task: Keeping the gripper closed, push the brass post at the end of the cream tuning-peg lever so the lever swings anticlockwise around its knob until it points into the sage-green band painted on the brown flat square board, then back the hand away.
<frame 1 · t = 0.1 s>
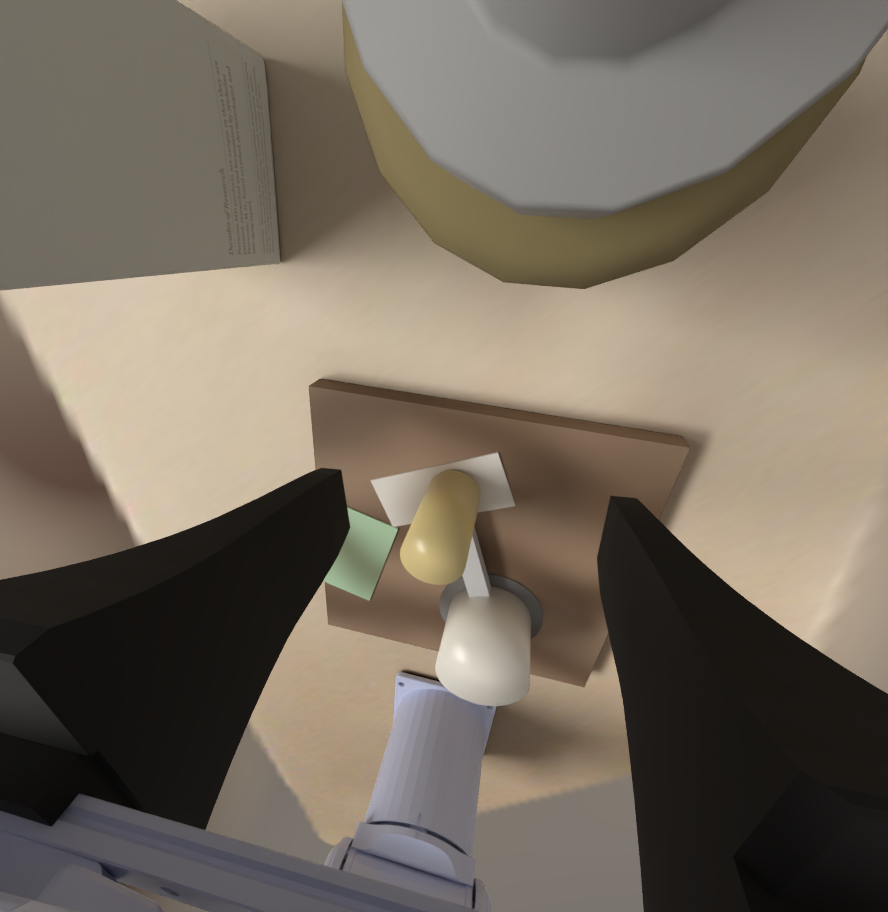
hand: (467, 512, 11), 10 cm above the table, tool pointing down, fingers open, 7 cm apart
peg lever: (468, 601, 21), point 4 cm above the table, hinge at 20.0°
squeeze bottle: (555, 159, 15), on the table
supplement box: (202, 161, 18), on the table
brown flat square board: (468, 543, 24), on the table
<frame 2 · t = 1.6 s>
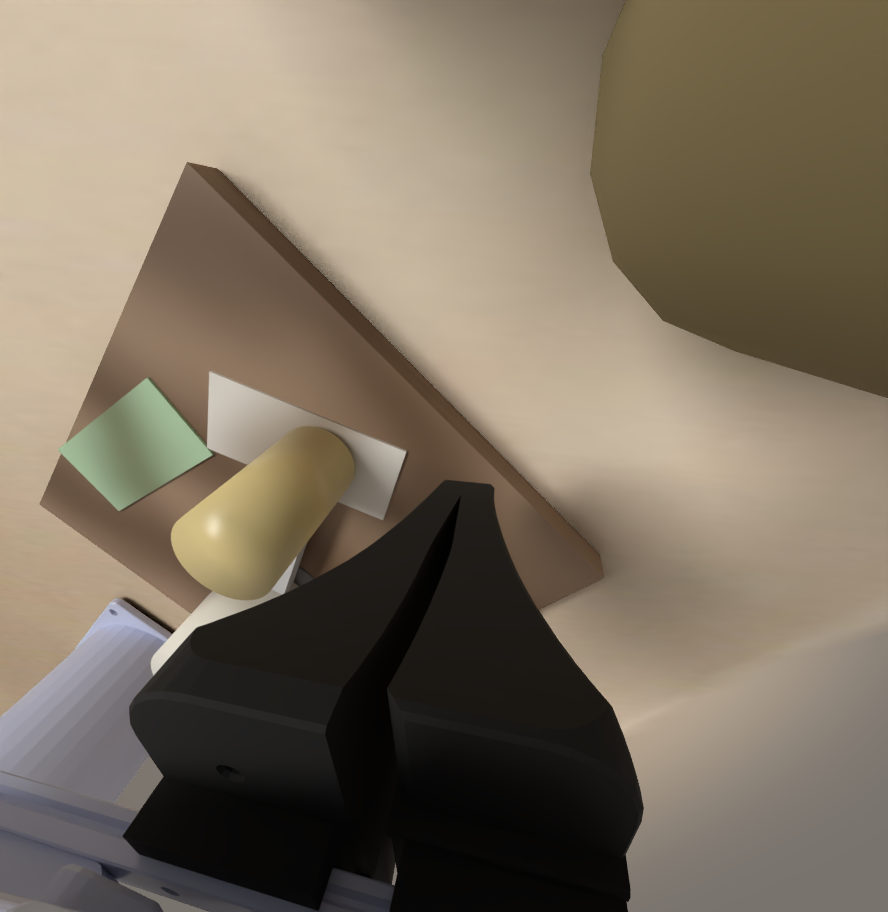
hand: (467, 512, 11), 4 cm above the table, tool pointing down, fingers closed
peg lever: (251, 600, 15), point 4 cm above the table, hinge at 20.0°
squeeze bottle: (753, 141, 9), on the table
brown flat square board: (297, 518, 18), on the table
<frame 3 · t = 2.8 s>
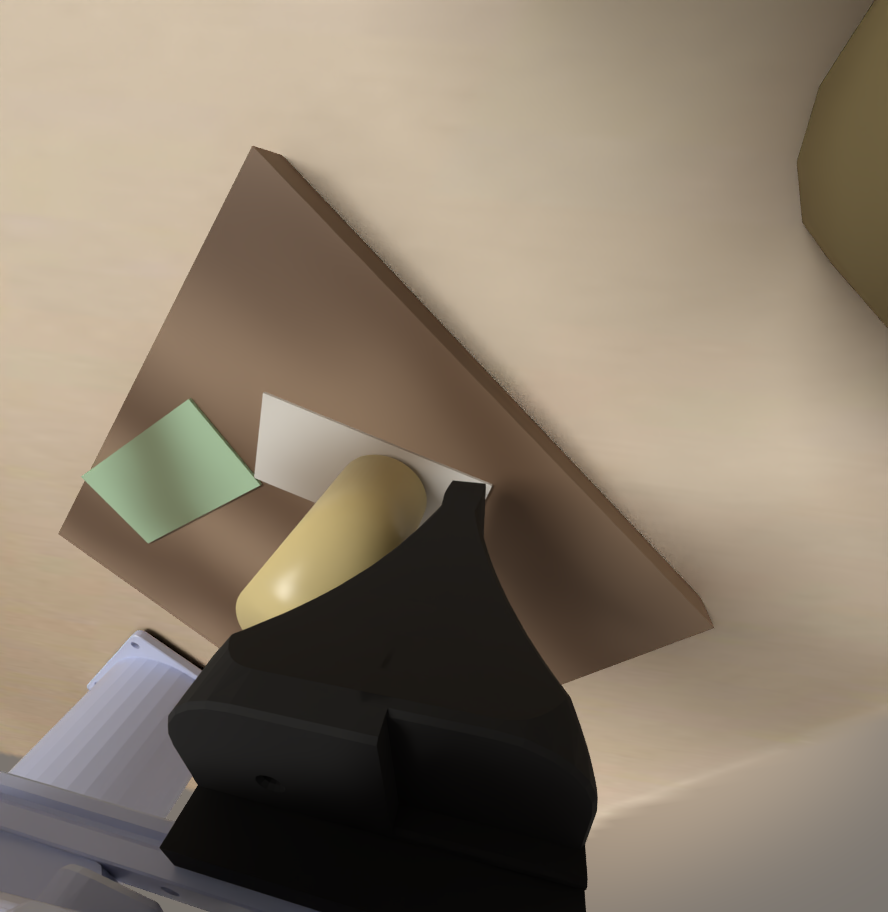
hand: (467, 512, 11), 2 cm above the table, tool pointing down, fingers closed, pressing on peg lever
peg lever: (306, 652, 13), point 4 cm above the table, hinge at 20.6°, touching gripper
brown flat square board: (348, 551, 16), on the table
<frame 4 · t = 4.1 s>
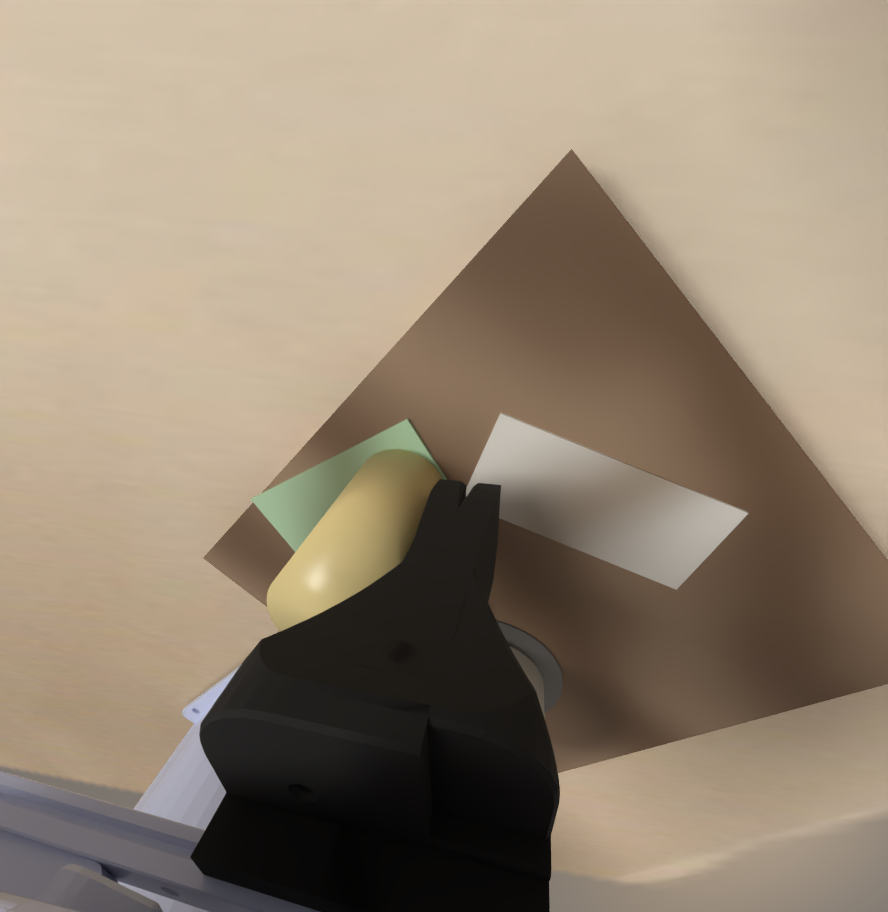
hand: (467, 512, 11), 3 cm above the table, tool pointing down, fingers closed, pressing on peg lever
peg lever: (434, 672, 12), point 4 cm above the table, hinge at 62.0°, touching gripper
brown flat square board: (524, 577, 15), on the table
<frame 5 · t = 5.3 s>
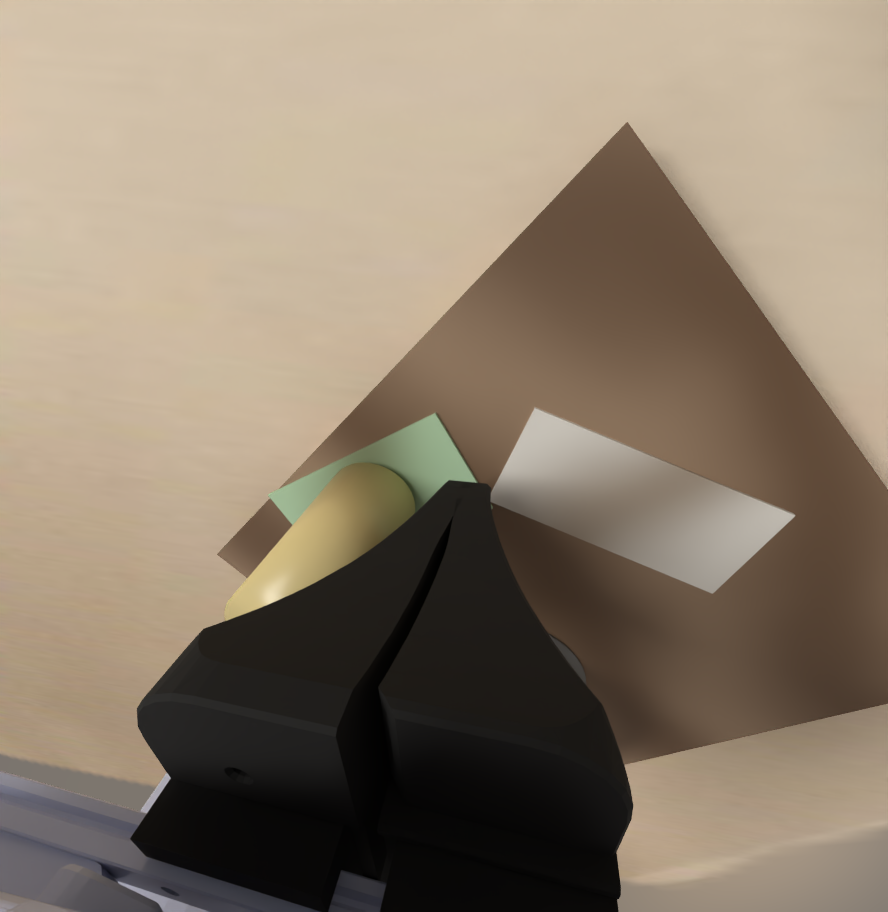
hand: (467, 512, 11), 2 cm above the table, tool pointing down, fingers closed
peg lever: (434, 678, 12), point 4 cm above the table, hinge at 74.3°, touching gripper
brown flat square board: (548, 577, 15), on the table
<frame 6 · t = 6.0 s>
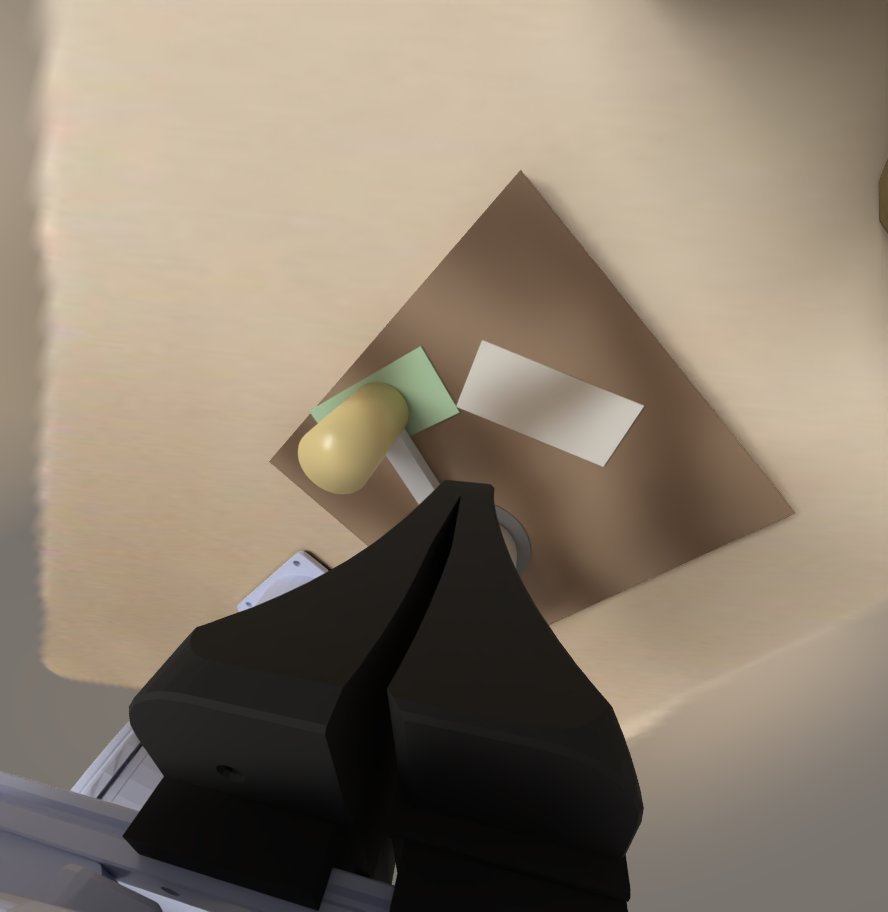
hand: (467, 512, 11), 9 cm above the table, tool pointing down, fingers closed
peg lever: (421, 524, 19), point 4 cm above the table, hinge at 74.4°
brown flat square board: (502, 471, 21), on the table
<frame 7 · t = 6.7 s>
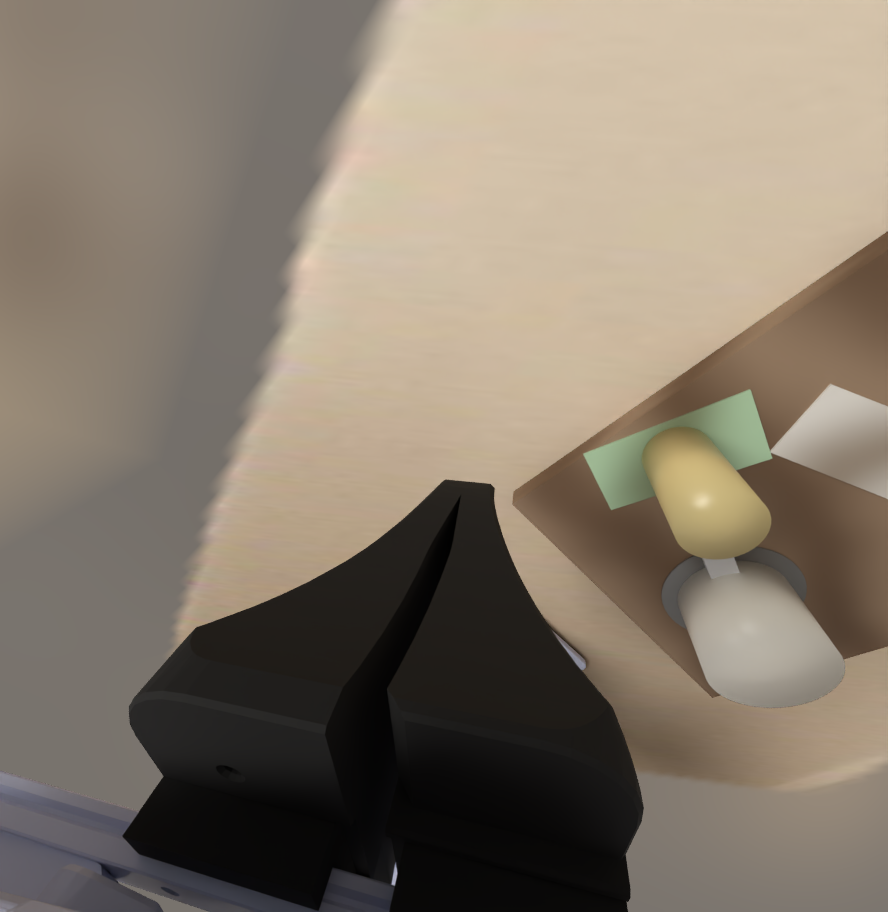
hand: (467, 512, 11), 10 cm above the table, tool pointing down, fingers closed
peg lever: (731, 579, 17), point 4 cm above the table, hinge at 74.4°
brown flat square board: (779, 516, 20), on the table
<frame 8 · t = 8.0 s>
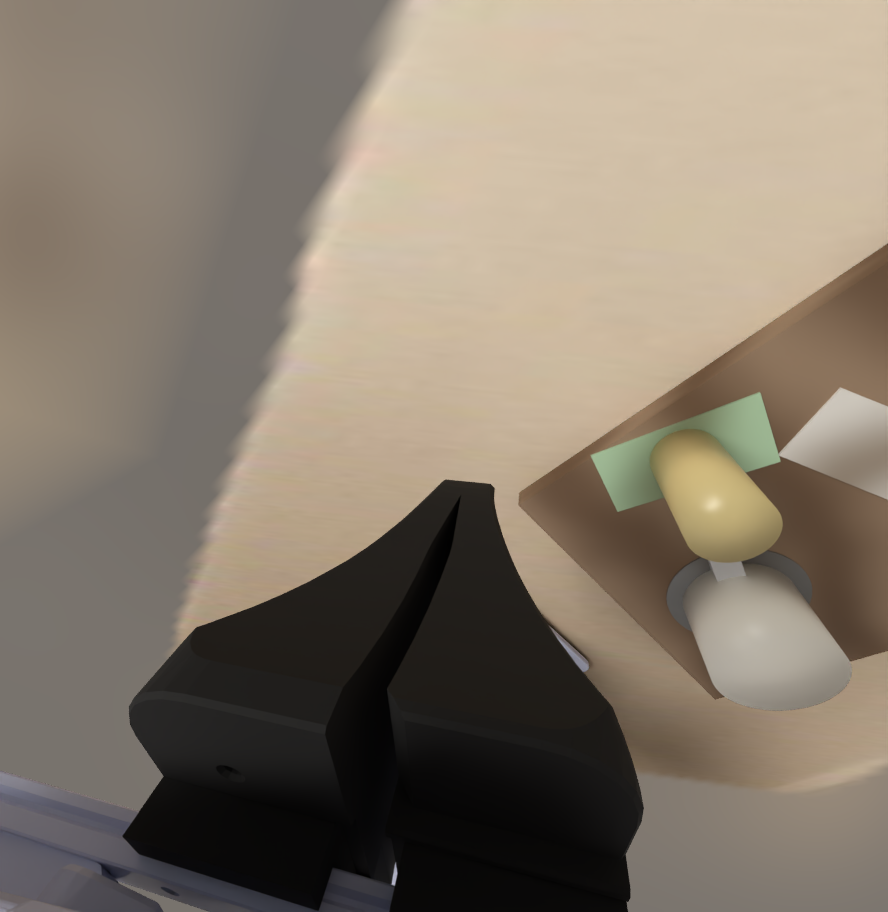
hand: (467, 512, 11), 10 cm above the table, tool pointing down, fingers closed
peg lever: (738, 582, 17), point 4 cm above the table, hinge at 74.4°
brown flat square board: (786, 519, 20), on the table
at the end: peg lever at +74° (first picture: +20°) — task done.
